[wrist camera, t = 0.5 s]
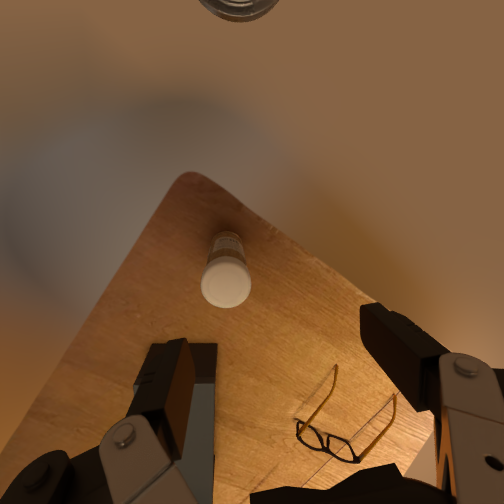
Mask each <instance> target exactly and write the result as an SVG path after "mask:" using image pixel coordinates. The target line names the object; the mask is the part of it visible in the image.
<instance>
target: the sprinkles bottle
mask: <svg viewBox="0 0 504 504" xmlns="http://www.w3.org/2000/svg"><path fill="white" fill-rule="evenodd" d="M250 290H251V278H250V273H249V270H248V268H247V267H246V259H245V255H244V250H243V243H242V240H241V239H240V237H239V236H238V235H237V234H235V233H233V232H230V231H223V232H220V233H218V234H217V235H215V236H214V237H213V239H212V241H211V246H210V250H209V254H208V260H207V265H206V267H205V269H204V270H203V273H202V278H201V291H202V294H203V296H204V297H205V299H206V300H207V301H208V302H209V303H211V304H212V305H214V306H217V307H220V308H231V307H235V306H237V305H239V304H241V303H242V302H243V301H244V300H245V299H246V298H247V297H248V295H249V293H250Z"/></svg>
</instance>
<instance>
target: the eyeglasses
mask: <svg viewBox="0 0 504 504" xmlns="http://www.w3.org/2000/svg"><path fill="white" fill-rule="evenodd" d="M337 374H338V365H336V367H335V373H334V383H333V387H332V389H331V391H330V393H329V395H328V396H327V397H326V399H325V400H324V401H323V402H322V404H321V405H320V406H319V407H318V408H317V410H316V411H315V412H314V413H313V414H312V416H311V417H310V418H309V419H308V421H307V422H306V423H304V422H301V421H298V422H297V425H296V431H297V433H296V437H297V439H298V440H299V441H300V442H301V443H302V444H303V445H305V446H306V447H308V448H310V449H312V450H315V451H322V452H325V453H328V454H330V455H332V456H333V457H335V458H336V459H338V460H340V461H343V462H346V463H352V464H359V463H360V462H361V461H362V460H363V459H364V458H365V457H366V455H367V454H368V453H369V452H370V451H371V450H372V448H373V447H374V446H375V445H376V443H377V442H378V441H379V440H380V439H381V437H382V436H383V435H384V434H385V433H386V431H387V430H388V429H389V428H390V426H391V425H392V424H393V422H394V419H395V416H396V404H397V396H396V395H394V396H393V407H394V412H393V417H392V419H391V421H390V423H389V424H388V425H387V426H386V428H385V429H384V430H383V431H382V432H381V433H380V434H379V435H378V436H377V437H376V439H375V440H374V441H373V442H372V443H371V444H370V445H369V446H368V447H367V448H366V449H365V450H364V451H363V452H362V453H361V454H360V455H359V456H356V455H355V453H354V451H353V449H352V447H351V445H350V444H349V443H348V442H347V441H346V440H344V439H342V438H339V437H337V436H334V435H328V437H327V447H325V446H324V443H323V438H322V437H321V435H320V434H319V433H318V432H317V431H316V430H315V429H314V428H313V427H312V426H310V425H309V424H310V423H311V422H312V420H313V419H314V418H315V416H316V415H317V414H318V412H319V411H320V410H321V408H322V407H323V406H324V404H325V403H326V402H327V401H328V399H329V398H330V396H331V395H332V393H333V391H334V388H335V385H336V379H337ZM299 423H300V424H303V426H302V427H301V428H300V430H299ZM307 427H309V428H311V429H312V430H314V432H315V433H316V435H317V437H318V439H319V441H320V443H321V446H322V448H320V449H319V448H314V447H312V446H310V445H308V444H306V443H305V442H304V441H303V440H302V438H301V434H302V433H303V432H304V431H305V429H306V428H307ZM329 437H333V438H336V439H339V440H341V441H343V442H345V443H346V444H347V445H348V446H349V448H350V450H351V452H352V455H353V461H348V460H345V459H342V458H340V457H338V456H336V455H335V454H334V453H332V452H331V451H330V449H329V444H330V440H329Z"/></svg>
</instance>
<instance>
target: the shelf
mask: <svg viewBox="0 0 504 504" xmlns="http://www.w3.org/2000/svg"><path fill="white" fill-rule="evenodd" d="M188 345H189V348H190V352H191V356H192V359H193V363H194V367H195V383H194V389H193V395H192V401H191V407H190V413H189V419H188V425H187V431H186V437H185V443H184V448H183V454H182V460H178V461H174V463H175V464H176V465H177V467H178V469H179V470H180V472H181V474H182V476H183V477H184V479H185V481H186V482H187V484H188V486H189V488H190V489H191V491H192V493H193V494H194V496H195V498H196V500H197V501H198V503H199V504H213V484H214V464H215V455H214V413H215V380H216V365H217V346H218V344H188ZM165 347H166V344H152V346H151V348H150V350H149V352H148V354H147V356H146V359H145V361H144V363H143V365H142V367H141V370H140V372H139V374H138V376H137V379H136V381H135V383H134V385H133V389H134V396H135V394H136V391H137V389H138V387H139V385H140V382H141V380H142V378H143V376H144V373H145V371H146V368H147V366H148V364H149V363H150V362H151V361H152V360H153V358H154V357H155V356H156V355H158V354H163V352H164V349H165Z"/></svg>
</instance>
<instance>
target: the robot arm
mask: <svg viewBox="0 0 504 504" xmlns="http://www.w3.org/2000/svg"><path fill="white" fill-rule="evenodd" d="M231 1H237V2H244V1H249V0H231ZM360 336H361V340H362V343H363V345H364V347H365V348H366V350H367V351H368V352H369V353H370V354H371V356H372V357H373V358H374V359H375V361H376V362H377V363H378V364H379V366H380V367H381V368H382V369H383V371H384V372H385V373H386V374H387V376H388V377H389V378H390V379H391V381H392V382H393V383H394V384H395V386H396V387H397V388H398V389H399V391H400V392H401V393H402V394H403V396H404V397H405V398H406V399H407V401H408V402H409V403H410V404H411V406H412V407H413V408H414V409H415V411H416V412H422V411H427V410H430V411H431V412H432V413H433V415H434V439H435V457H436V479H437V480H436V487H434V486H432V485H430V484H428V483H425V482H422V481H419V480H416V479H412V478H407V477H403V476H402V475H401V473H400V471H399V469H398V468H397V466H396V464H395V463H391V464H387V465H382V466H377V467H373V468H368V469H363V470H359V471H358V472H356V473H354V474H353V475H351V476H349V477H348V478H346V479H345V480H343V481H341V482H340V483H338V484H336V485H335V486H333V487H331V488H330V489H327V490H319V489H309V488H300V487H290V486H284V487H279V488H274V489H270V490H265V491H260V492H256V493H251V494H250V504H504V369H494V368H490V367H489V366H488V365H487V364H486V363H485V362H483V361H481V360H479V359H477V358H475V357H472V356H469V355H466V354H461V353H452V352H450V351H449V350H448V349H447V348H445V347H444V346H443V345H441V344H440V343H439V342H438V341H436V340H435V339H434V338H433V337H431V336H430V335H429V334H427V333H426V332H425V331H423V330H422V329H421V328H420V327H418V326H417V325H415V323H413V322H412V321H411V320H409V319H408V318H407V317H406V316H404V315H401V314H399V313H397V312H394V311H389V310H388V309H386V308H385V307H384V306H383V305H382V304H380V303H379V302H376V303H370V304H365V305H361V306H360ZM194 383H195V367H194V363H193V359H192V356H191V352H190V348H189V345H188V341H187V339H186V338H180V339H174V340H169V341H168V342H167V344H166V347H165V349H164V352H163V354H158V355H156V356H155V357H154V358H153V360H152V361H151V362H150V363H149V364H148V366H147V368H146V371H145V373H144V376H143V378H142V380H141V382H140V385H139V387H138V389H137V391H136V394H135V396H134V398H133V401H132V403H131V405H130V407H129V410H128V412H127V414H126V417H125V418H124V419H122V420H120V421H119V422H117V423H116V424H115V425H113V426H112V427H111V428H110V429H109V430H108V431H107V433H106V434H105V435H104V437H103V439H102V441H101V443H100V445H98V446H96V447H94V448H92V449H90V450H88V451H86V452H84V453H82V454H80V455H78V456H76V457H74V458H72V459H69V457H68V455H67V453H66V452H65V451H62V450H55V451H51V452H48V453H46V454H44V455H42V456H40V457H39V458H37V459H36V460H34V461H33V462H31V463H30V464H29V465H28V466H27V467H25V468H24V469H23V470H22V471H21V472H20V473H19V474H18V475H17V477H16V478H15V479H14V480H13V482H12V483H11V484H10V486H9V487H8V489H7V490H6V492H5V493H4V495H3V496H2V498H1V499H0V504H199V503H198V501H197V500H196V498H195V496H194V494H193V493H192V491H191V489H190V488H189V486H188V484H187V482H186V481H185V479H184V477H183V476H182V474H181V472H180V470H179V469H178V467H177V465H176V464H175V463H174V461H178V460H182V454H183V448H184V443H185V437H186V431H187V425H188V419H189V413H190V407H191V401H192V395H193V389H194Z"/></svg>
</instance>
